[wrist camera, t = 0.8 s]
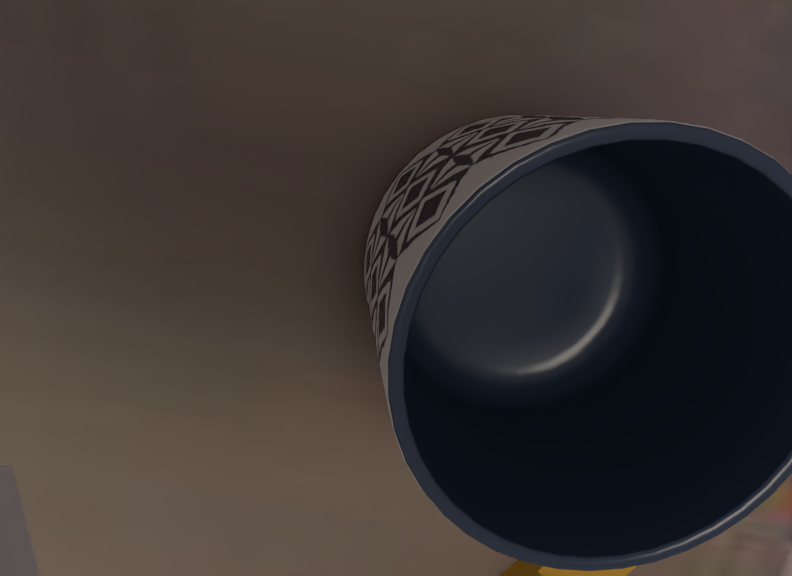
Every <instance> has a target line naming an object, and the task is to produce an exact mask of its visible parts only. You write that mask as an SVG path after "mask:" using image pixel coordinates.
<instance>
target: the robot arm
mask: <svg viewBox="0 0 792 576" xmlns="http://www.w3.org/2000/svg"><path fill="white" fill-rule="evenodd" d="M0 576H40V574H39V570H38V566H37V562H36V558H35V554H34V550H33V546H32V542H31V538H30V534H29V531H28V527H27V523H26V519H25V515H24V511H23V507H22V503H21V499H20V495H19V491H18V487H17V483H16V479H15V475H14V471H13V468H12V466H3V467H0Z"/></svg>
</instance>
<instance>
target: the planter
mask: <svg viewBox="0 0 792 576" xmlns="http://www.w3.org/2000/svg"><path fill="white" fill-rule="evenodd" d="M364 280H365V290H366V296H367V302H368V307H369V313H370V318H371V323H372V329H373V334H374V339H375V345H376V350H377V355H378V360H379V365H380V371H381V376H382V381H383V386H384V391H385V396H386V401H387V406H388V410H389V415H390V419H391V424H392V428H393V431H394V434H395V437H396V439H397V442H398V445H399V448H400V450H401V453H402V456H403V458H404V461H405V463H406V465H407V466H408V468H409V470H410V471H411V473H412V475H413V476H414V478H415V480H416V482H417V483H418V485H419V487H420V488H421V490H422V491H423V492H424V493H425V495H426V496H427V497H428V498H429V499H430V500H431V502H432V503H433V504H434V505H435V506H436V507H437V509H438V510H439V511H440V512H441V513H442V514H443V515H444V516H445V517H446V518H448V519H449V520H450V521H451V522H452V523H454V524H455V525H456V526H457V527H459V528H460V529H461V530H462V531H463V532H465V533H466V534H467V535H469V536H470V537H472V538H474V539H476V540H477V541H479V542H481V543H483V544H484V545H486V546H488V547H489V548H491V549H493V550H495V551H497V552H500V553H502V554H505V555H508V556H510V557H513V558H516V559H518V560H521V561H523V562H526V563H531V564H536V565H540V566H545V567H550V568H555V569H564V570H579V571H599V570H612V569H624V568H628V567H633V566H638V565H643V564H647V563H652V562H656V561H659V560H662V559H665V558H668V557H670V556H673V555H676V554H679V553H682V552H685V551H688V550H690V549H692V548H694V547H696V546H698V545H700V544H702V543H704V542H706V541H708V540H710V539H712V538H714V537H716V536H718V535H719V534H721V533H722V532H724V531H725V530H727V529H728V528H730V527H731V526H733V525H734V524H736V523H737V522H739V521H740V520H742V519H743V518H745V517H747V516H748V515H749V514H750V513H751V512H752V511H754V510H755V509H756V508H757V507H758V506H759V505H761V504H762V503H763V502H764V501H765V500H766V499H768V498H769V497H770V496H771V495H772V494H773V493H774V492H775V491H776V490H777V489H778V488H779V487H780V486H781V485H782V483H783V482H784V481H785V480H786V479H787V478H788V477H789V476H790V475H791V474H792V174H791V173H790V172H789V171H788V170H787V169H786V168H784V167H783V166H782V165H781V164H780V163H779V162H778V161H777V160H775V159H774V158H773V157H771V156H769V155H768V154H766V153H764V152H762V151H761V150H759V149H757V148H756V147H754V146H752V145H751V144H749V143H747V142H745V141H744V140H742V139H739V138H736V137H733V136H731V135H728V134H725V133H722V132H720V131H717V130H714V129H711V128H708V127H704V126H698V125H692V124H686V123H680V122H674V121H666V120H652V119H635V118H610V117H584V116H552V115H507V116H501V117H495V118H489V119H484V120H480V121H478V122H475V123H472V124H469V125H466V126H463V127H460V128H458V129H456V130H454V131H452V132H451V133H449V134H447V135H445V136H443V137H441V138H439V139H437V140H436V141H435V142H433V143H432V144H431V145H429V146H428V147H427V148H425V149H424V150H423V151H422V152H420V153H419V154H418V155H417V156H416V157H415V158H414V159H413V160H412V161H411V162H410V163H409V164H408V165H407V166H406V167H405V168H404V169H403V170H402V171H401V172H400V173H399V175H398V176H397V177H396V179H395V180H394V182H393V183H392V185H391V186H390V187H389V189H388V190H387V192H386V193H385V195H384V197H383V199H382V201H381V203H380V205H379V207H378V209H377V211H376V213H375V216H374V219H373V222H372V225H371V228H370V232H369V235H368V238H367V245H366V252H365V259H364Z"/></svg>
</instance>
